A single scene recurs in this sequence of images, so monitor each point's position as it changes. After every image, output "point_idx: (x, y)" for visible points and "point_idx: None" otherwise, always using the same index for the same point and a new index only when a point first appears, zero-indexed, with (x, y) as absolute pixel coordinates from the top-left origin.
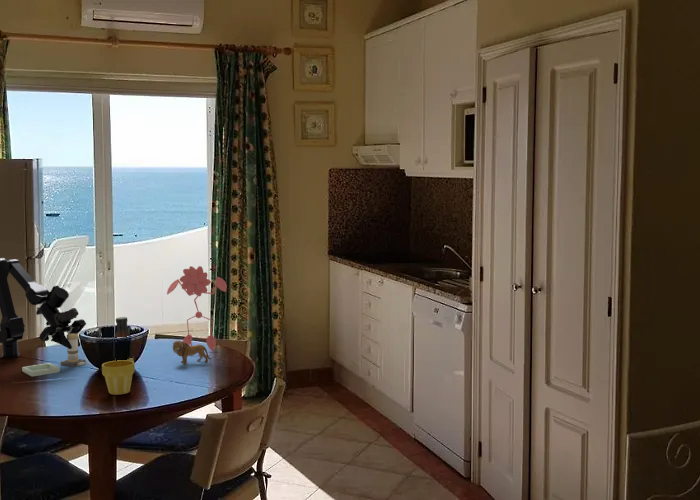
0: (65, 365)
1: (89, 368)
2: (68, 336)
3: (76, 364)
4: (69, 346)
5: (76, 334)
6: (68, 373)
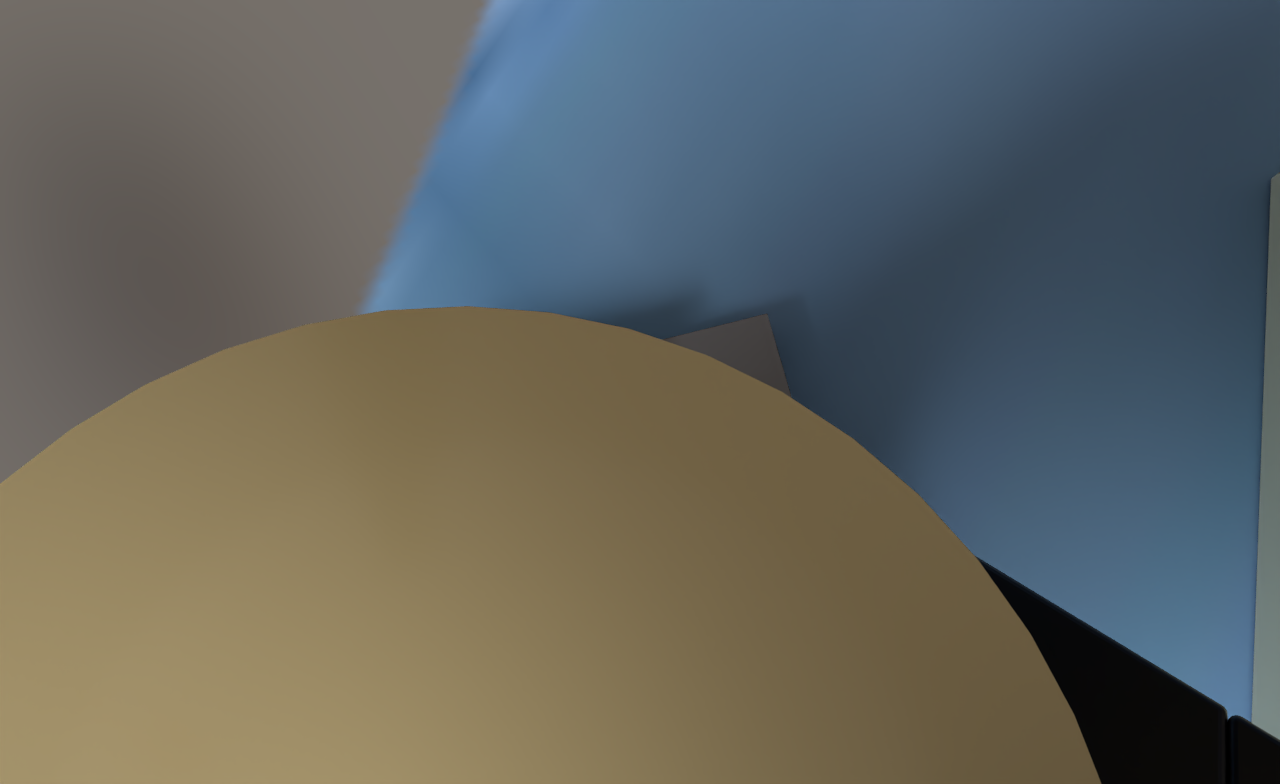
0: None
1: (509, 79)
2: (1046, 733)
3: None
4: None
5: (100, 548)
6: (1111, 33)
